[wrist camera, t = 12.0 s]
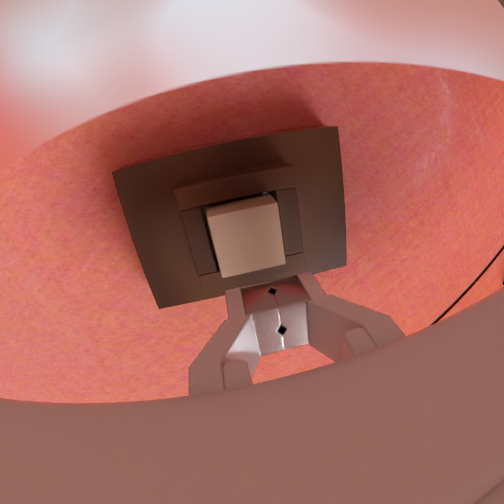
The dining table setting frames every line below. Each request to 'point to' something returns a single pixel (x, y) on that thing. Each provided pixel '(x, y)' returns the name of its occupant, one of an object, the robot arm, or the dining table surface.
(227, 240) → the key
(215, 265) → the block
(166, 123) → the dining table surface
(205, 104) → the dining table surface
